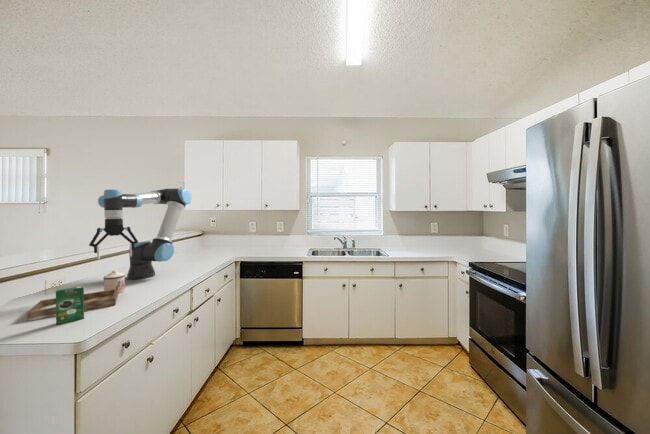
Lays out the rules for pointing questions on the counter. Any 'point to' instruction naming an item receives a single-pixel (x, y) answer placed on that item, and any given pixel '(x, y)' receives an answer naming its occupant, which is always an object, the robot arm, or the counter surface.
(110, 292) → the wooden tray
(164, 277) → the counter surface
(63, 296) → the coffee box
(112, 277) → the teacup with lid
